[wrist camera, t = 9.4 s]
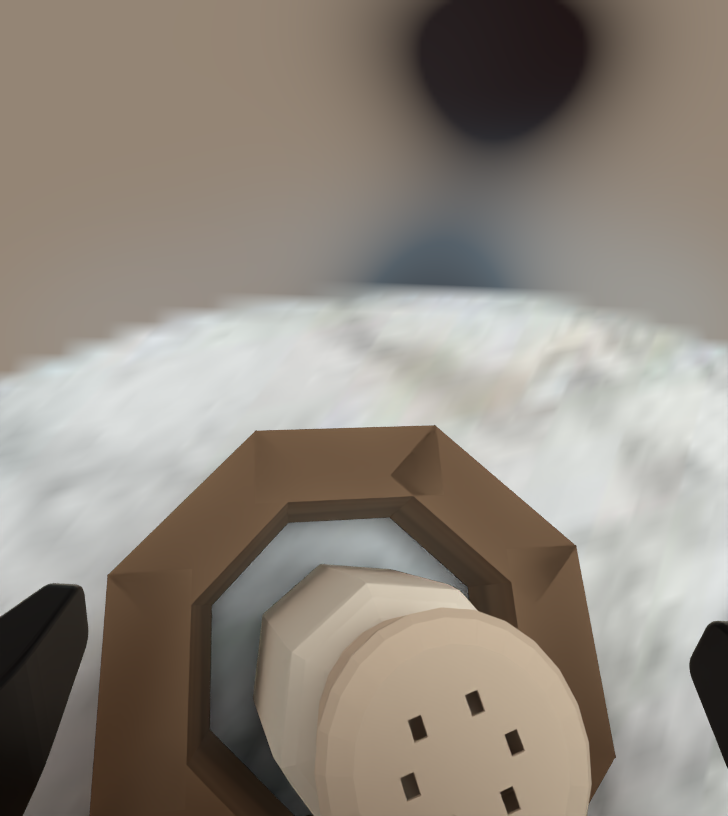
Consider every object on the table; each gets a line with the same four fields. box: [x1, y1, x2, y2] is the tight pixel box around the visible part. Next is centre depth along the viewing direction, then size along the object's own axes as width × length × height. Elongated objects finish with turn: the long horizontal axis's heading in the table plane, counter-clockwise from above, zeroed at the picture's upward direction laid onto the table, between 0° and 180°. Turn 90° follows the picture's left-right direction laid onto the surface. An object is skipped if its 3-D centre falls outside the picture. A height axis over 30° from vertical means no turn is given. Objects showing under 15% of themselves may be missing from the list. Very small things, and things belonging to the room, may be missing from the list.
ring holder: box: [89, 425, 616, 816], centre depth 14 cm, size 11×11×4 cm
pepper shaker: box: [253, 564, 592, 816], centre depth 10 cm, size 5×5×11 cm
